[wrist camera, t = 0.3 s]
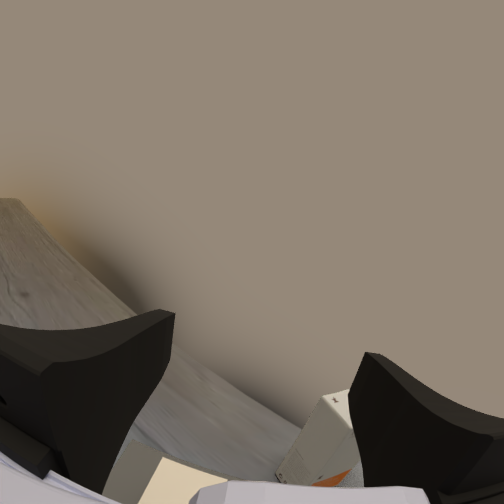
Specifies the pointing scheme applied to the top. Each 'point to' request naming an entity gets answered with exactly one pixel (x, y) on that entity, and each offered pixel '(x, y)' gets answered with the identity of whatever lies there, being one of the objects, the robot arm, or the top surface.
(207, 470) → the mat
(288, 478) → the skincare box
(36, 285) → the top surface
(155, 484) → the tower mid
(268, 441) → the top surface
